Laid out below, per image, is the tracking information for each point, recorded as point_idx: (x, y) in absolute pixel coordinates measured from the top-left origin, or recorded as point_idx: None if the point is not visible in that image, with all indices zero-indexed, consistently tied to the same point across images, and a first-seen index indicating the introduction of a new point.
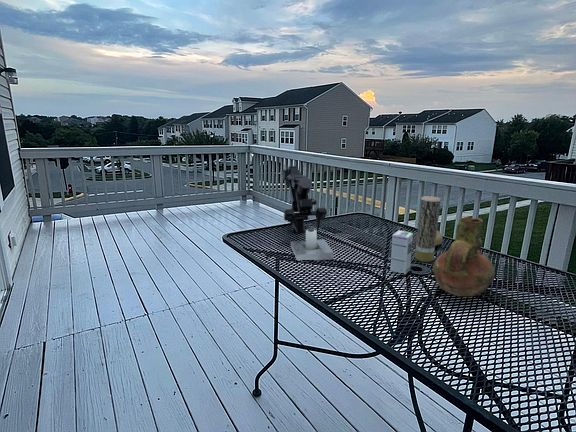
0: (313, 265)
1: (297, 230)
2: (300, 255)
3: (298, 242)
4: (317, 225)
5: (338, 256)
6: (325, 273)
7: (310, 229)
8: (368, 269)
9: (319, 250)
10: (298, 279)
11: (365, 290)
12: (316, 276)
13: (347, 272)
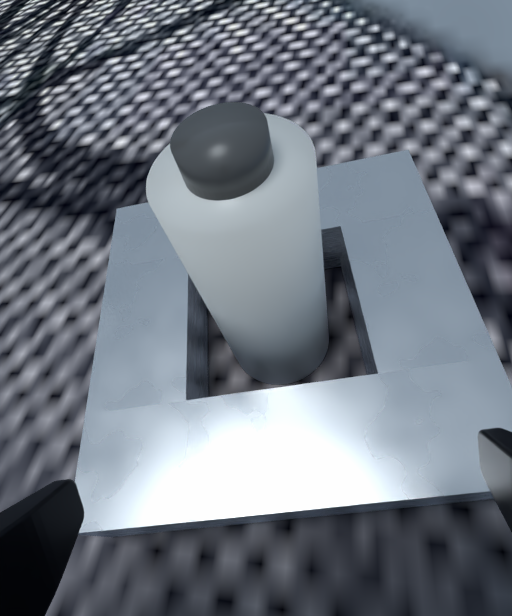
0: None
1: (493, 431)
2: (374, 163)
3: (421, 430)
4: (4, 532)
5: (90, 285)
6: None
7: (238, 104)
8: (25, 158)
9: None
10: (373, 53)
11: (127, 43)
12: (284, 82)
13: (130, 126)
